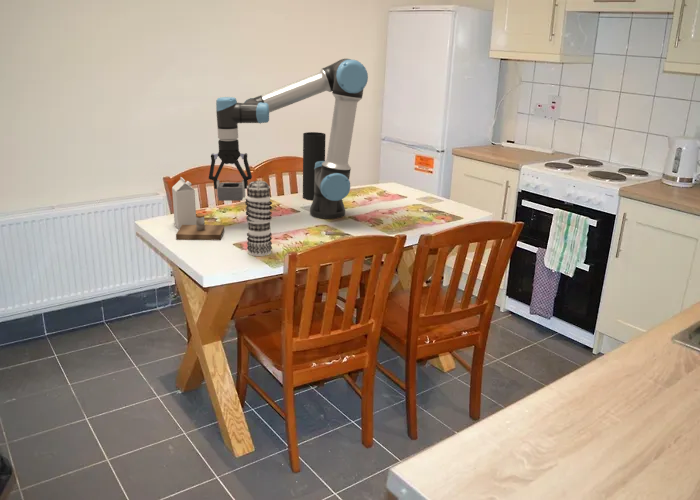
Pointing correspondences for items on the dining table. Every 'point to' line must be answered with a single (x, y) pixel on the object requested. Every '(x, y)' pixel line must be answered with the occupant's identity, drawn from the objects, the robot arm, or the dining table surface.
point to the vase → (311, 160)
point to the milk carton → (184, 203)
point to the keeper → (200, 230)
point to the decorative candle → (258, 218)
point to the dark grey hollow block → (230, 191)
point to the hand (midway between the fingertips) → (231, 196)
